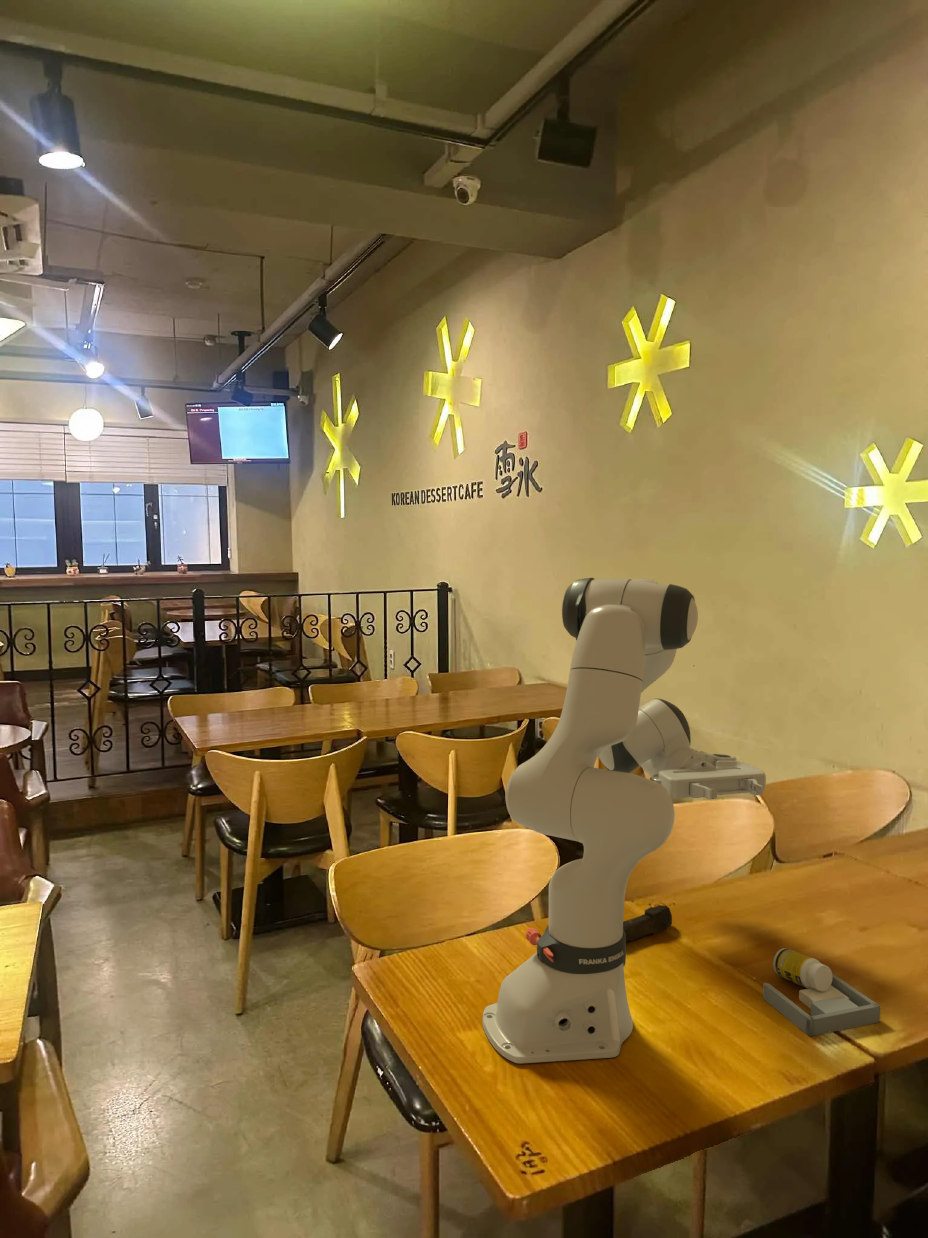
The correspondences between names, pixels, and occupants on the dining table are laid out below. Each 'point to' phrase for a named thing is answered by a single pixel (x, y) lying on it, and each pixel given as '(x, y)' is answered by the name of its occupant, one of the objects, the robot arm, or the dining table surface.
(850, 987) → the grey u-shaped frame
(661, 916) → the hand tool
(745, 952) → the dining table surface
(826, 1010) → the tile near
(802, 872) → the dining table surface
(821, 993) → the tile far
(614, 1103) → the dining table surface
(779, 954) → the supplement bottle
